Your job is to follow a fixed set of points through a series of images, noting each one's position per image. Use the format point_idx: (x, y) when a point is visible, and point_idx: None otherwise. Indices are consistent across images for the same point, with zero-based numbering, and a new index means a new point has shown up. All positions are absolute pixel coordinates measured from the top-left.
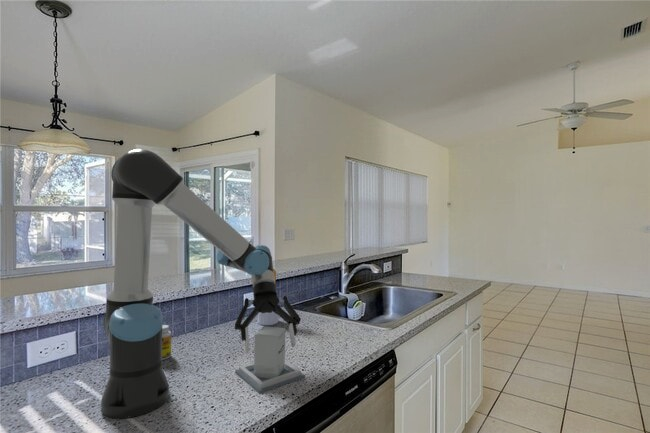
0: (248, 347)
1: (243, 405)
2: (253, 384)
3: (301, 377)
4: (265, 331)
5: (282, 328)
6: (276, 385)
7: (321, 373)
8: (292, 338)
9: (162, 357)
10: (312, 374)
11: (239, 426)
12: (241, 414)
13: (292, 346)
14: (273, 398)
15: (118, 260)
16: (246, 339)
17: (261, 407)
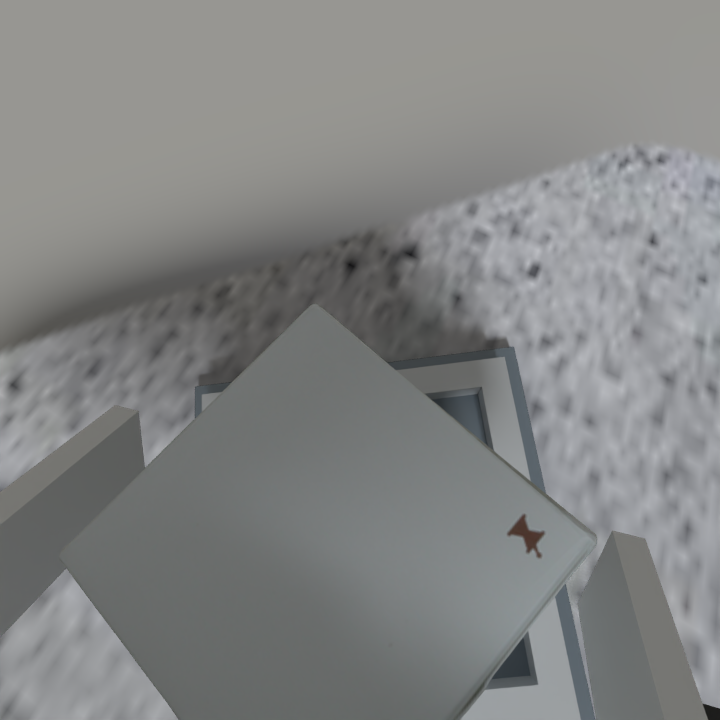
0: (625, 542)
1: (622, 284)
2: (522, 438)
3: (223, 384)
4: (402, 553)
5: (102, 555)
6: (398, 361)
7: (94, 383)
8: (98, 444)
9: None
10: (142, 399)
11: (671, 149)
12: (646, 220)
13: (141, 465)
14: (458, 273)
15: None
16: (675, 643)
17: (540, 230)
